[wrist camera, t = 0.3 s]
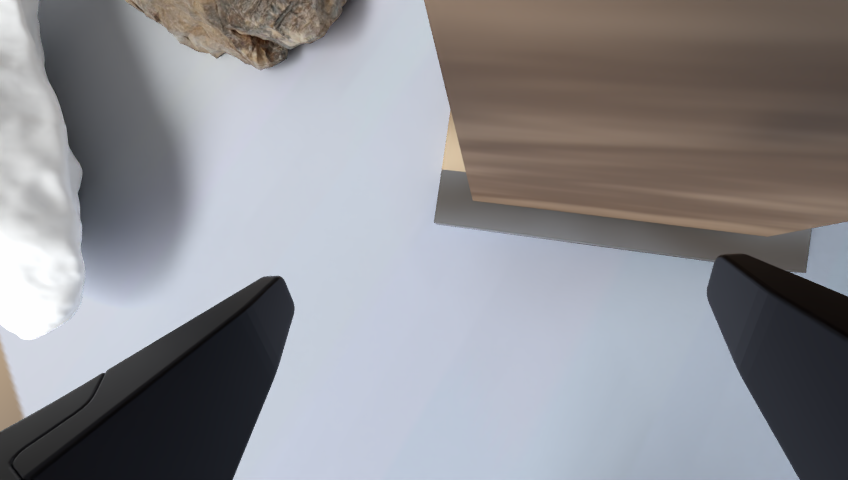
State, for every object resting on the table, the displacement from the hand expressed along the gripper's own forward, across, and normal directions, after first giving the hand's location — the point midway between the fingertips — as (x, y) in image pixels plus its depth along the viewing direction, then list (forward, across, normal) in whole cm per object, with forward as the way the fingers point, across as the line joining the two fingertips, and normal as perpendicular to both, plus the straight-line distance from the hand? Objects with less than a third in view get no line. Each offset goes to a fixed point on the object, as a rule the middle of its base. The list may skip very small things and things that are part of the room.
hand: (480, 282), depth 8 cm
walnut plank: (+13, -6, +4) cm, 15 cm away
